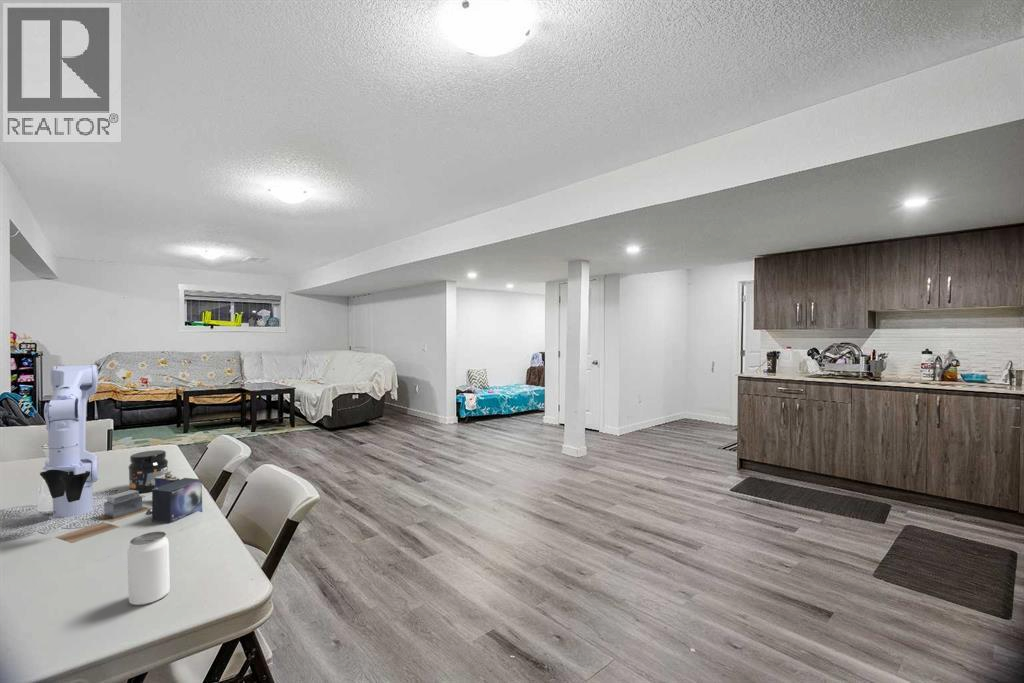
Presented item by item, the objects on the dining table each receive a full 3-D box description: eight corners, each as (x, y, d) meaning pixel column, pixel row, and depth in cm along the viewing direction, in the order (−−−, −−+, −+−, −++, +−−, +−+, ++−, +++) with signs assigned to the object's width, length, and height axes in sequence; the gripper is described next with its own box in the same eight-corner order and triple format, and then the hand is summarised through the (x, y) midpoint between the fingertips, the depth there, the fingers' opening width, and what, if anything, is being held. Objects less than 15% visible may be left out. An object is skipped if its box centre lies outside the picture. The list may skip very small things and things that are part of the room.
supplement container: (128, 488, 158) (127, 453, 157) (166, 481, 165) (165, 448, 164) (130, 496, 150) (129, 459, 149) (170, 488, 157) (169, 453, 157)
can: (144, 588, 95) (142, 531, 95) (177, 587, 96) (175, 529, 95) (120, 607, 89) (118, 545, 88) (155, 605, 89) (154, 544, 89)
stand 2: (95, 522, 129) (95, 517, 129) (136, 509, 138) (136, 504, 138) (111, 527, 126) (111, 521, 126) (152, 513, 135) (152, 508, 135)
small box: (170, 529, 124) (169, 490, 124) (150, 527, 125) (149, 489, 125) (204, 514, 135) (203, 478, 134) (185, 512, 136) (184, 477, 136)
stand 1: (55, 543, 116) (55, 537, 116) (103, 527, 126) (103, 522, 126) (72, 548, 113) (71, 542, 113) (120, 532, 122) (120, 526, 122)
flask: (153, 506, 141) (152, 471, 141) (163, 503, 144) (162, 468, 143) (174, 510, 138) (173, 474, 138) (184, 506, 141) (183, 471, 140)
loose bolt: (146, 520, 130) (145, 511, 130) (153, 516, 133) (153, 507, 133) (166, 520, 130) (165, 511, 130) (173, 516, 133) (173, 507, 133)
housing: (104, 516, 129) (103, 496, 129) (133, 507, 136) (132, 488, 136) (113, 519, 128) (113, 499, 127) (142, 510, 134) (141, 490, 134)
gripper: (28, 447, 117) (30, 500, 117) (59, 452, 111) (60, 508, 112) (64, 441, 124) (65, 491, 124) (94, 445, 118) (96, 498, 118)
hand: (65, 498), depth 118 cm, fingers open, 7 cm apart
